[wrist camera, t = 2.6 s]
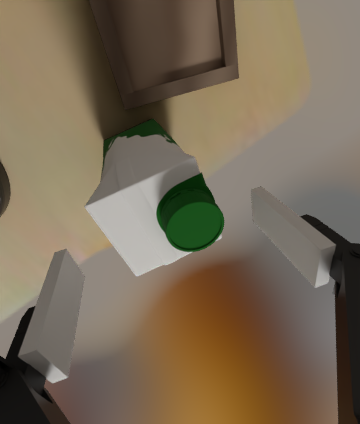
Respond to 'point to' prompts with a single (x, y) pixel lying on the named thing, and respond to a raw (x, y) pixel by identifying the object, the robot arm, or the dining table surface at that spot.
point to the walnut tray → (167, 46)
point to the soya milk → (153, 199)
